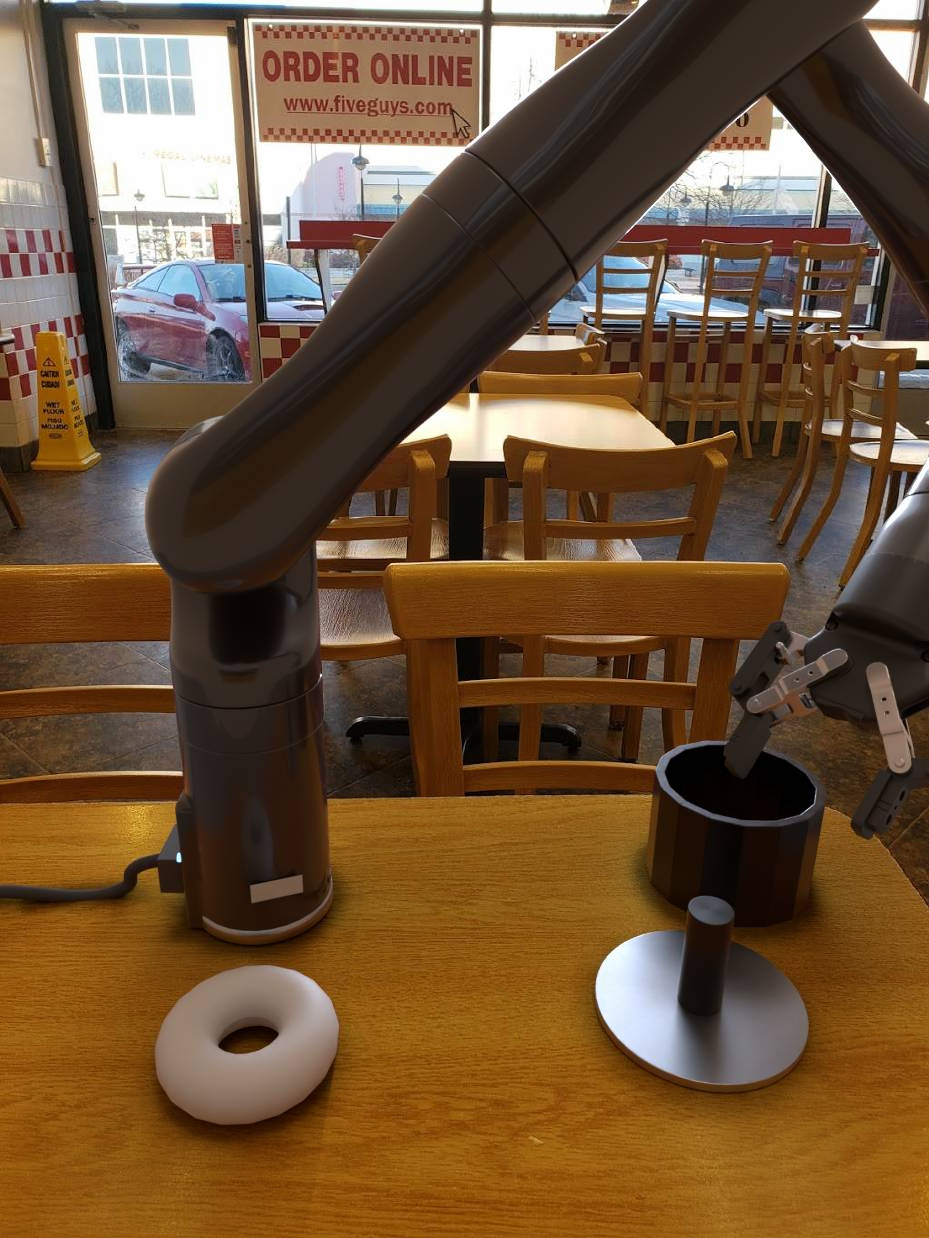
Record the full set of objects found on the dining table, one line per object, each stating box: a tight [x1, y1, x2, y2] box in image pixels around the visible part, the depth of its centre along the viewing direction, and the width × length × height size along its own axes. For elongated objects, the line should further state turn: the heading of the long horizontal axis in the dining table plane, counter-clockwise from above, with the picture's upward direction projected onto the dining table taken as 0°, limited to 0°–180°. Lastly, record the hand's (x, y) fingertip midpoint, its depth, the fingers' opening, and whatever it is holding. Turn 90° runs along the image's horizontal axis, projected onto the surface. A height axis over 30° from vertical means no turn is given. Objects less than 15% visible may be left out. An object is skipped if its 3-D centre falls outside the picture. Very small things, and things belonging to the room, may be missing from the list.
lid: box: [593, 896, 810, 1094], centre depth 55 cm, size 12×12×8 cm
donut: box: [154, 964, 340, 1126], centre depth 52 cm, size 10×4×10 cm
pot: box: [645, 740, 828, 929], centre depth 67 cm, size 11×11×8 cm
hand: (793, 801), depth 57 cm, fingers open, 8 cm apart
